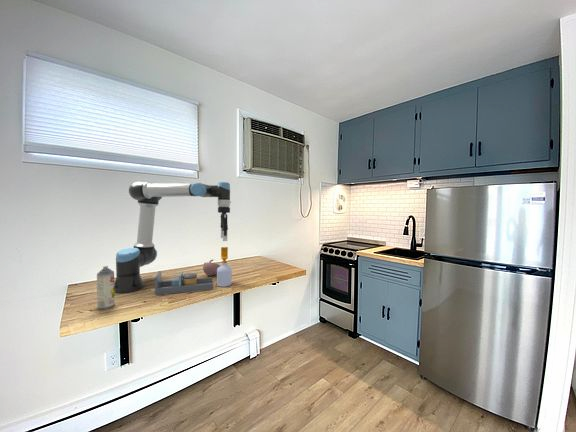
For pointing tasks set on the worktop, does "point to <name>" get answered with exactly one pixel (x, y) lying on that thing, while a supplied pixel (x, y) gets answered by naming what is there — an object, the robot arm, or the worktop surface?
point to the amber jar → (189, 279)
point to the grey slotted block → (177, 289)
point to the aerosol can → (105, 288)
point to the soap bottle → (224, 270)
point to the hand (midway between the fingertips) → (223, 239)
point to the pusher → (177, 280)
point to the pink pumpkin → (210, 268)
